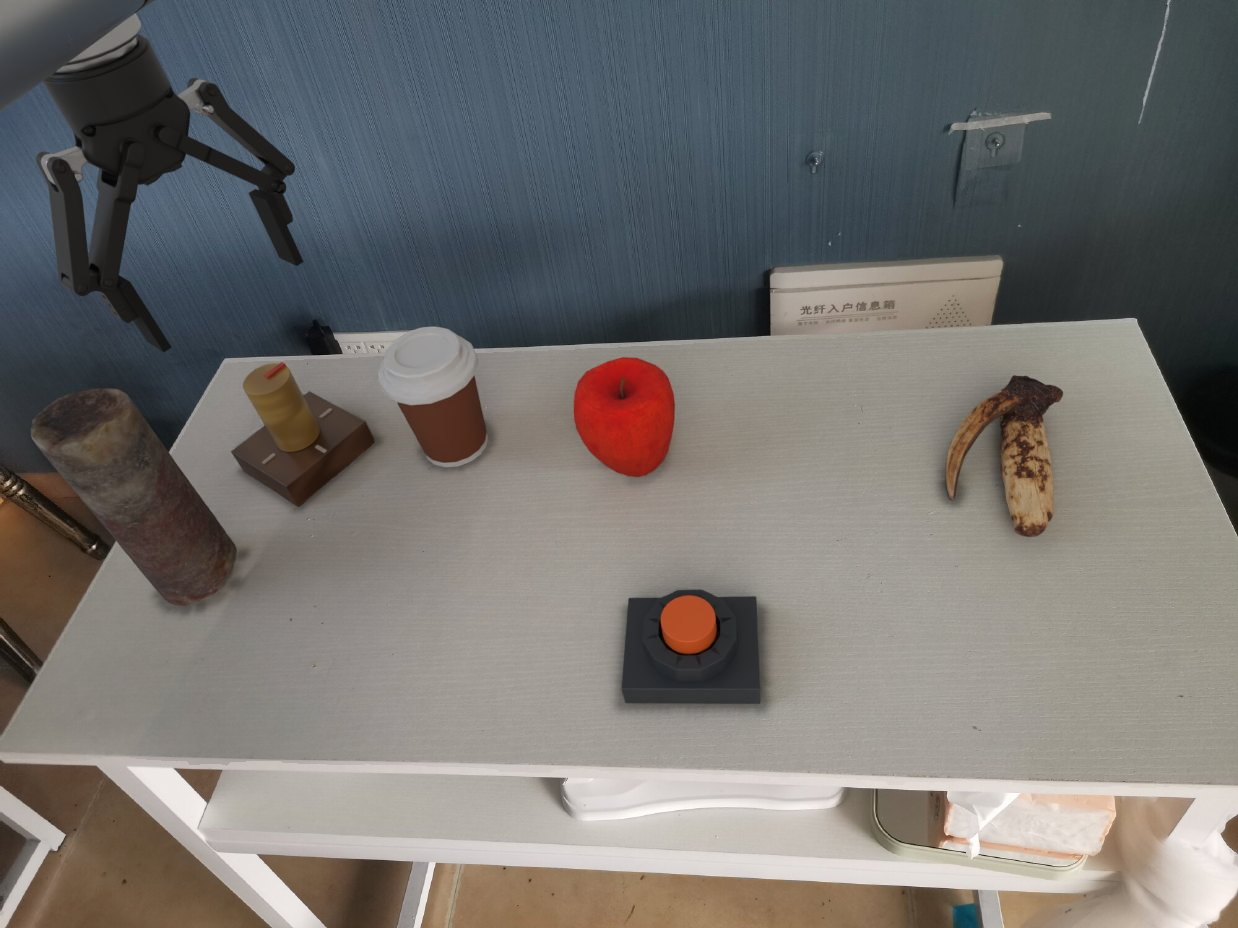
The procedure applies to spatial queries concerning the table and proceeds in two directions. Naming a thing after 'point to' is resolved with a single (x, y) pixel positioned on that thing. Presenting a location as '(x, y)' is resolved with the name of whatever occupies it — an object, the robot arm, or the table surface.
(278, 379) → the dimmer knob
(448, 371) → the coffee cup
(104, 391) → the weathered brown cylinder
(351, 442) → the panel
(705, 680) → the switch block
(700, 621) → the light button
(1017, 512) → the lashed bone hook
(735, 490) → the table surface
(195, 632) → the table surface
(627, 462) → the apple
